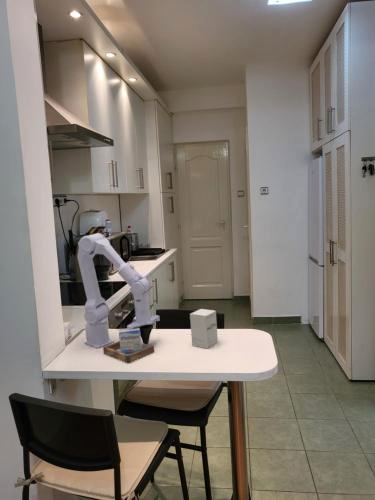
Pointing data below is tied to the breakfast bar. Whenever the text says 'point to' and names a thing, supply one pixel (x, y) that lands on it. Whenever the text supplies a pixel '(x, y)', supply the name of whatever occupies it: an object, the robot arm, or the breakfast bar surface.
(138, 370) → the breakfast bar surface
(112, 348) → the walnut bay
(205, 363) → the breakfast bar surface
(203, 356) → the breakfast bar surface
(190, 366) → the breakfast bar surface
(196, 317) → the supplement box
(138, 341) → the medicine box
